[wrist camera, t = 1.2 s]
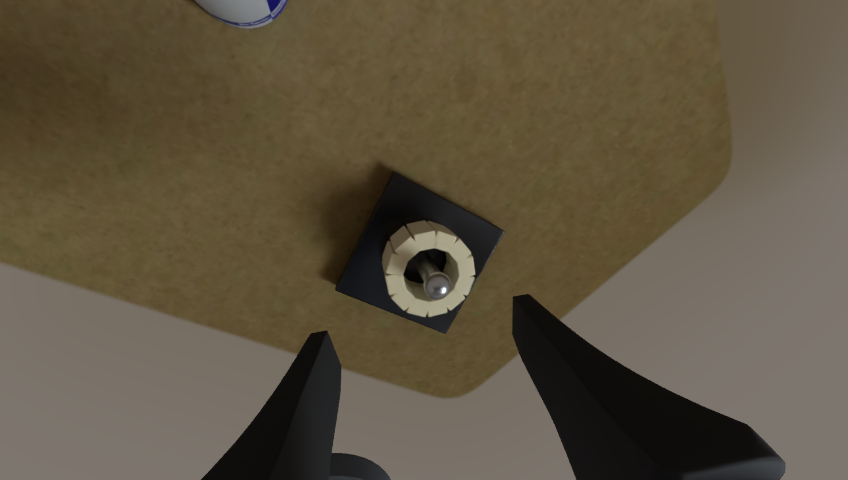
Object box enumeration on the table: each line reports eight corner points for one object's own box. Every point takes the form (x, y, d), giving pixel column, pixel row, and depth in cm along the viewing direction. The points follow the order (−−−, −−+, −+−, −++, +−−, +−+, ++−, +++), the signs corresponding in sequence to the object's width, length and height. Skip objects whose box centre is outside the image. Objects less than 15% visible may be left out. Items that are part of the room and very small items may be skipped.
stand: (499, 228, 25) (544, 253, 19) (442, 327, 26) (467, 380, 20) (393, 171, 22) (406, 178, 16) (335, 285, 23) (328, 331, 17)
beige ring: (465, 286, 24) (479, 304, 21) (390, 304, 23) (395, 326, 21) (455, 213, 23) (469, 222, 20) (374, 230, 22) (377, 242, 19)
